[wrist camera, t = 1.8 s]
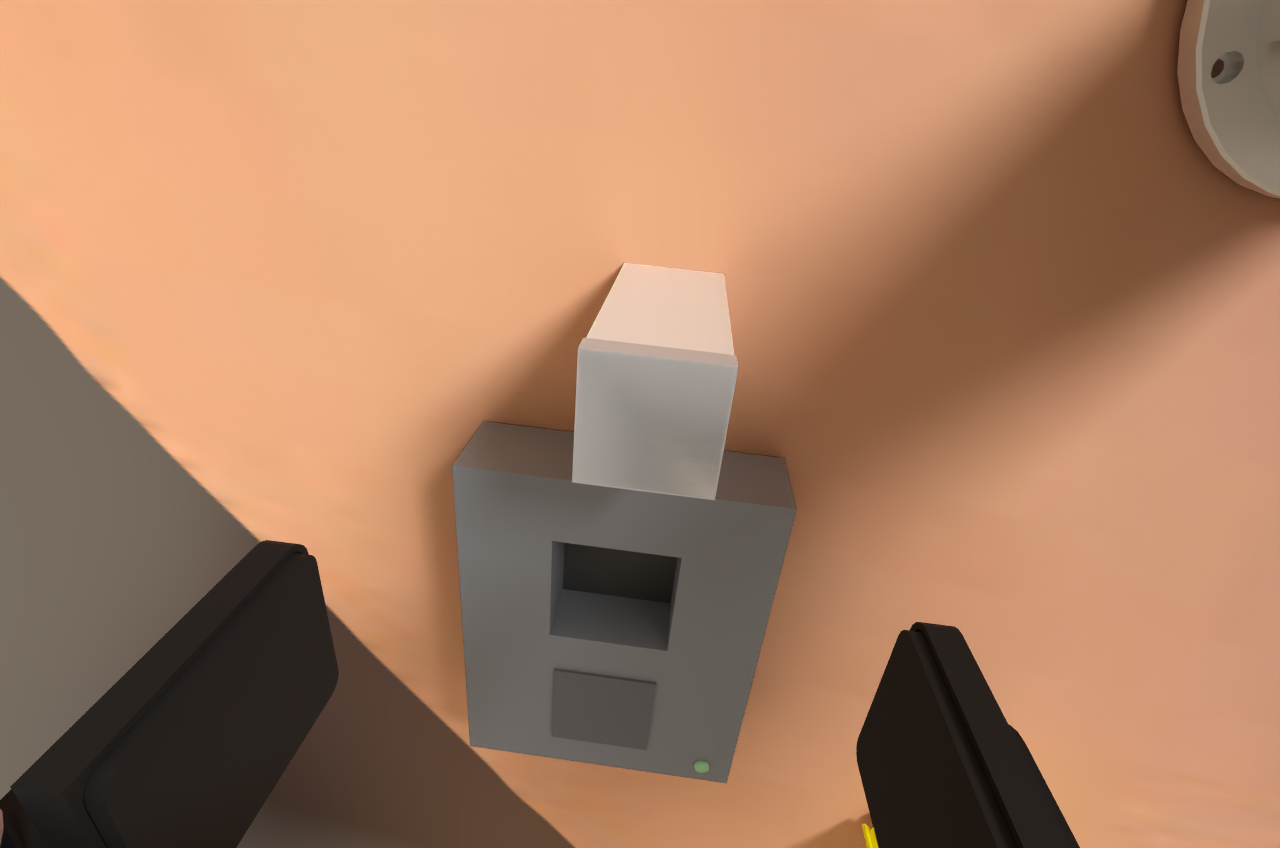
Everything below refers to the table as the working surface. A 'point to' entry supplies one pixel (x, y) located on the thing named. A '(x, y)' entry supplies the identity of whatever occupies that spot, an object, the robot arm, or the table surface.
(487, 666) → the plate
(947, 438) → the table surface
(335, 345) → the table surface
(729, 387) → the plug
